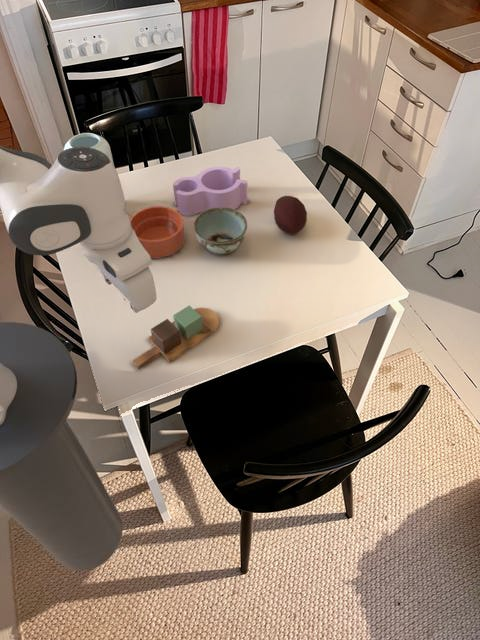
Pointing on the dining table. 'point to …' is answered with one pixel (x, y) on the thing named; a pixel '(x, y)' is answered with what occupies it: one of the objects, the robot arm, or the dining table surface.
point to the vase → (90, 143)
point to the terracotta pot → (159, 230)
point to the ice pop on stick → (182, 339)
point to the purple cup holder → (210, 190)
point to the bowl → (220, 229)
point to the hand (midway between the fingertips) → (123, 294)
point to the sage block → (188, 322)
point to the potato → (290, 214)
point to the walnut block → (166, 336)
